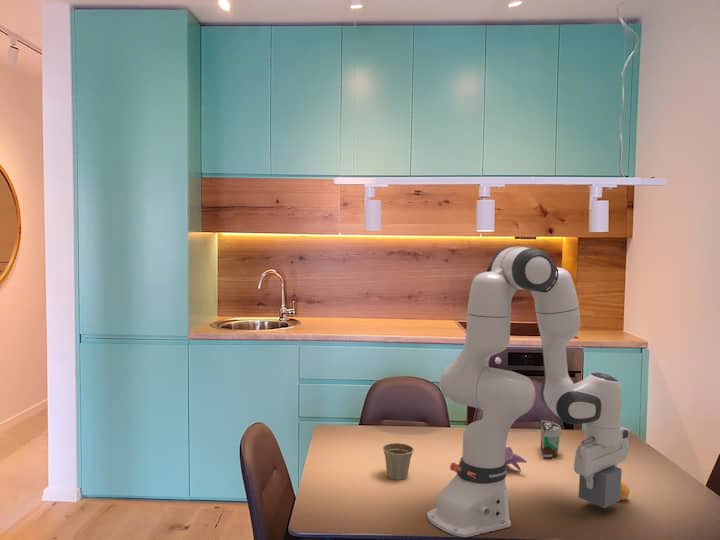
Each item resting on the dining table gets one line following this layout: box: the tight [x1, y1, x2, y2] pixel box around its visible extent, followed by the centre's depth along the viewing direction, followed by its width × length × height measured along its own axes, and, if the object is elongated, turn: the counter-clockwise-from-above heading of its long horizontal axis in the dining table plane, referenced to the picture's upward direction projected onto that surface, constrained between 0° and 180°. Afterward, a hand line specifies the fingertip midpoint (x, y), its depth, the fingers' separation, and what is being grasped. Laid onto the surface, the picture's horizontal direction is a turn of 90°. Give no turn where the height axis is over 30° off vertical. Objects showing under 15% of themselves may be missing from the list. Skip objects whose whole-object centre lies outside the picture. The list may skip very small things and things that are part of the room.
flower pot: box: [382, 442, 415, 481], centre depth 182 cm, size 9×9×9 cm
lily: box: [505, 446, 528, 472], centre depth 188 cm, size 12×12×10 cm
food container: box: [540, 419, 563, 460], centre depth 203 cm, size 12×6×10 cm, turn 168°
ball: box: [620, 481, 630, 501], centre depth 169 cm, size 5×5×5 cm
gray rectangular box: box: [578, 466, 623, 509], centre depth 163 cm, size 8×8×9 cm
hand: (600, 483), depth 163 cm, fingers closed on gray rectangular box, 8 cm apart
